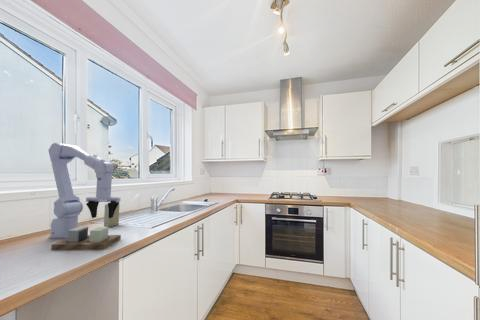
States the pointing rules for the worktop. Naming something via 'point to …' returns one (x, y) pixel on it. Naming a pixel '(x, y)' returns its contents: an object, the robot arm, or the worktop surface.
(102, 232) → the block
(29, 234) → the worktop surface
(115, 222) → the skincare box
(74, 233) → the grey block
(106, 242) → the brown wooden frame
